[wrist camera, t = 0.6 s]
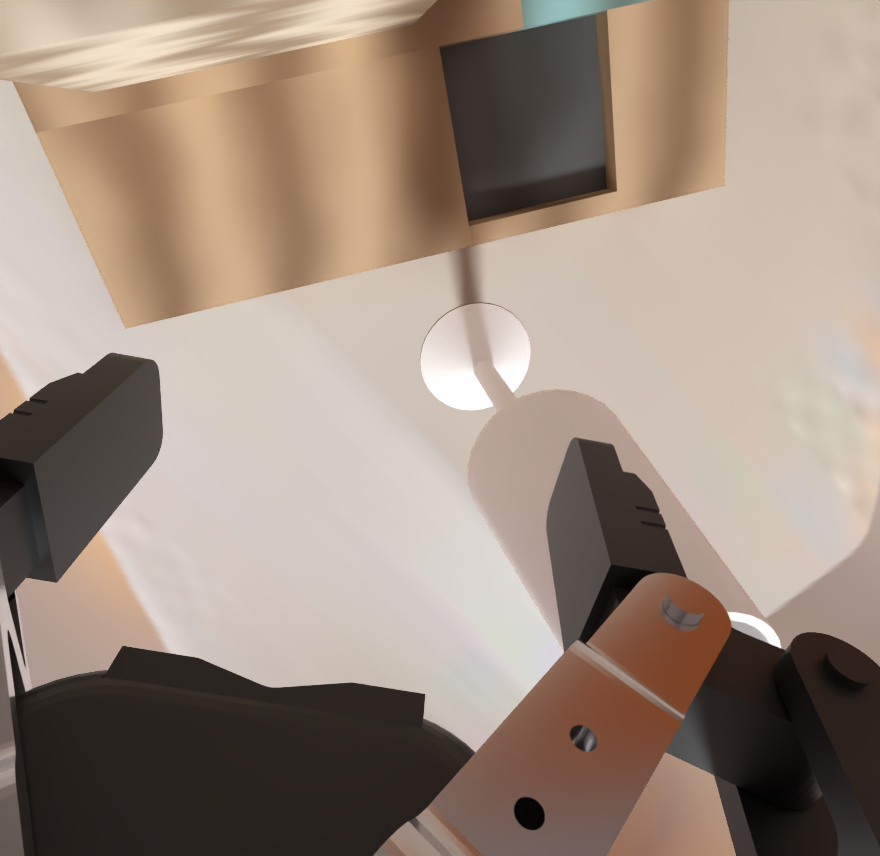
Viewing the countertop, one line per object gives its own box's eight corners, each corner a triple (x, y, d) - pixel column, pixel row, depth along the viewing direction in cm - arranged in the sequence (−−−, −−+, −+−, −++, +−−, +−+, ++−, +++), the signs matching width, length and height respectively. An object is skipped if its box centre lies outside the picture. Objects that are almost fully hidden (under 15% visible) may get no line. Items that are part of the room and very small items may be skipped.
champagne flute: (422, 301, 35) (589, 587, 13) (537, 303, 36) (857, 568, 15) (417, 411, 37) (546, 789, 16) (523, 409, 39) (773, 759, 18)
